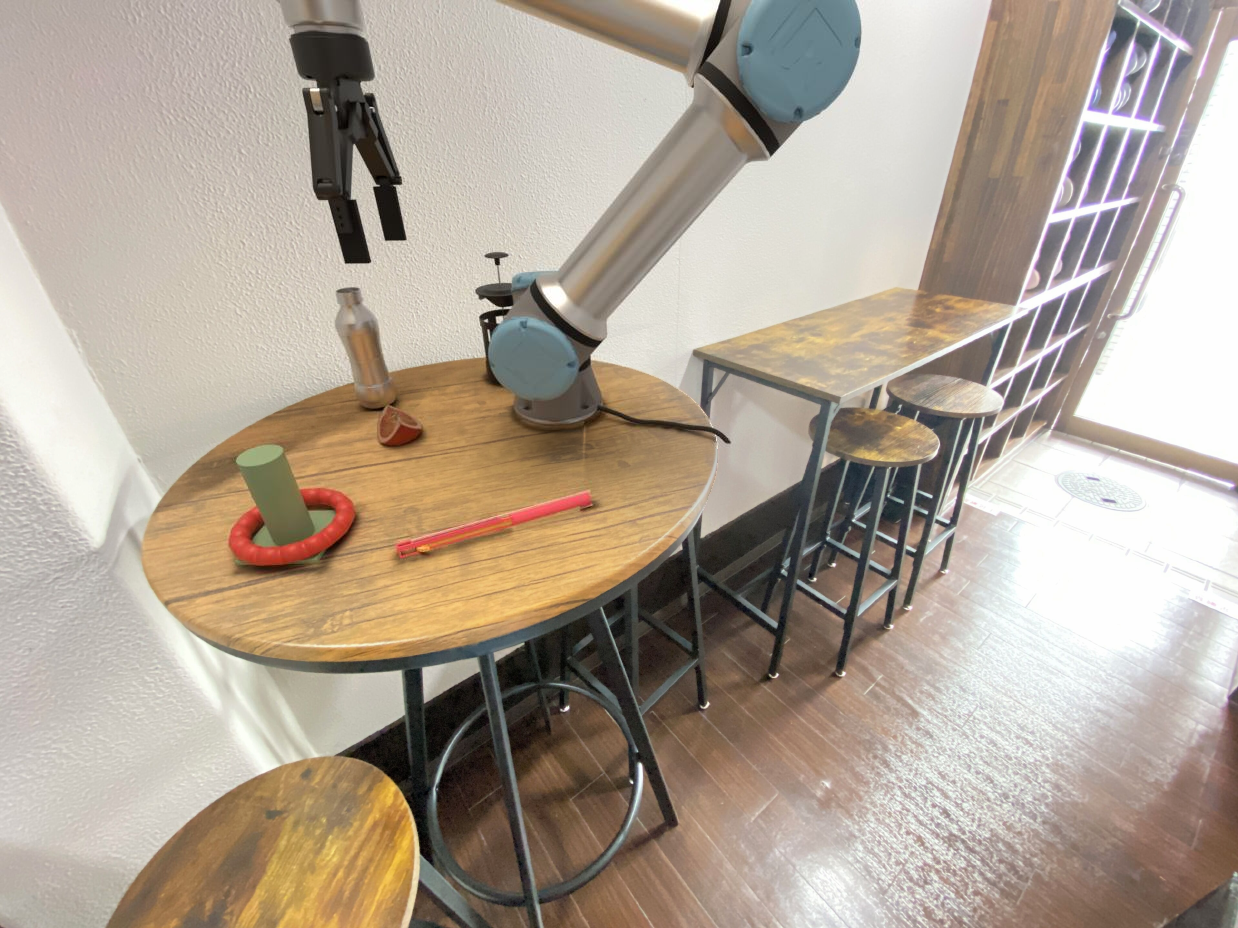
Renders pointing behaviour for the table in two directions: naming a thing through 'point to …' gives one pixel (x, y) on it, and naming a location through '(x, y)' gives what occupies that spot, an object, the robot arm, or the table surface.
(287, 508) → the post
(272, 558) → the ring
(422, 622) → the table surface
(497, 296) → the french press
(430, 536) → the red ballpoint pen
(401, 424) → the fruit slice
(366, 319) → the plastic bottle
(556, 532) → the table surface
